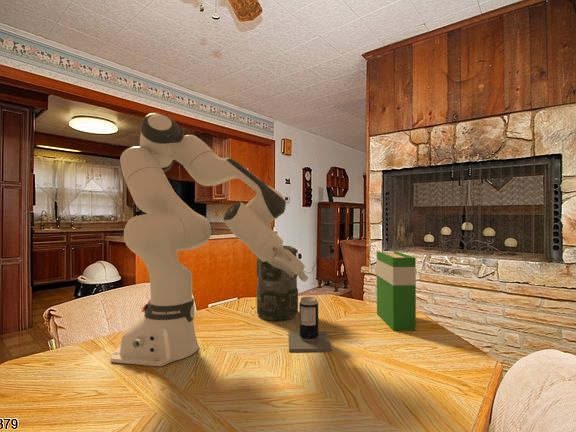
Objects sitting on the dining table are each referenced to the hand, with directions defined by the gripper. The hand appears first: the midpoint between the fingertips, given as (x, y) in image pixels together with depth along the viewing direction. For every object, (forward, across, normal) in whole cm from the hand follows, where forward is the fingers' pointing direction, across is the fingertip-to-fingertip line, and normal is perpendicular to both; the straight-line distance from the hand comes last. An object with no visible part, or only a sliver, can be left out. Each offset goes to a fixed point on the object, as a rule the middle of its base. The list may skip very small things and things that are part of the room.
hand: (299, 277), depth 97 cm
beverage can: (+14, -3, +12) cm, 19 cm away
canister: (+14, +24, +12) cm, 30 cm away
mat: (+14, -3, +13) cm, 19 cm away
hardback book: (+40, +1, -13) cm, 42 cm away
